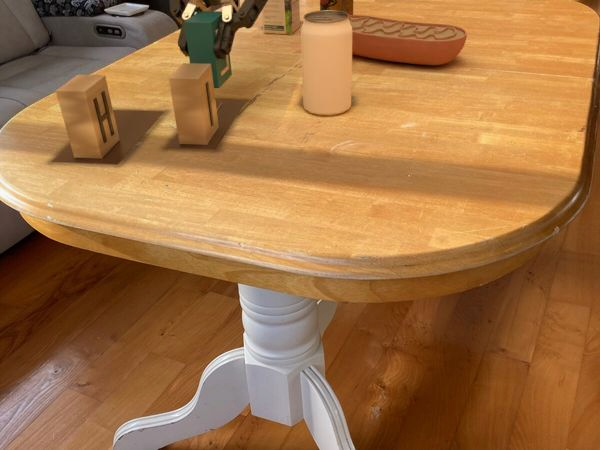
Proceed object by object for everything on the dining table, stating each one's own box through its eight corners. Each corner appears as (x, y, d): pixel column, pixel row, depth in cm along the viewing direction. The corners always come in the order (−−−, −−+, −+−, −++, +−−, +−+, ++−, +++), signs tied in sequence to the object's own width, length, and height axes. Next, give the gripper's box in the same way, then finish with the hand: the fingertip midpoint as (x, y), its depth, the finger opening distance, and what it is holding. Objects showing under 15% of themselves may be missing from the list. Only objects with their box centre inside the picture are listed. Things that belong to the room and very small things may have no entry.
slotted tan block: (167, 155, 68) (153, 80, 63) (204, 105, 81) (195, 40, 76) (216, 157, 67) (207, 81, 62) (246, 107, 80) (240, 40, 75)
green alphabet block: (193, 87, 73) (183, 21, 68) (207, 73, 77) (199, 10, 72) (220, 88, 72) (212, 22, 67) (233, 74, 76) (226, 11, 71)
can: (344, 119, 75) (344, 24, 68) (296, 114, 77) (292, 21, 70) (356, 101, 80) (358, 10, 73) (311, 96, 82) (309, 8, 75)
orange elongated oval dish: (470, 59, 93) (474, 27, 90) (449, 79, 86) (453, 45, 83) (343, 41, 103) (343, 12, 100) (314, 58, 96) (314, 27, 93)
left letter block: (53, 169, 66) (30, 93, 61) (109, 116, 79) (93, 49, 74) (119, 172, 65) (101, 95, 60) (165, 118, 77) (153, 50, 72)
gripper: (169, -93, 72) (135, 35, 69) (277, -94, 67) (245, 42, 65) (195, -53, 79) (165, 65, 76) (294, -52, 74) (266, 73, 72)
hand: (202, 54), depth 70 cm, fingers closed on green alphabet block, 4 cm apart
